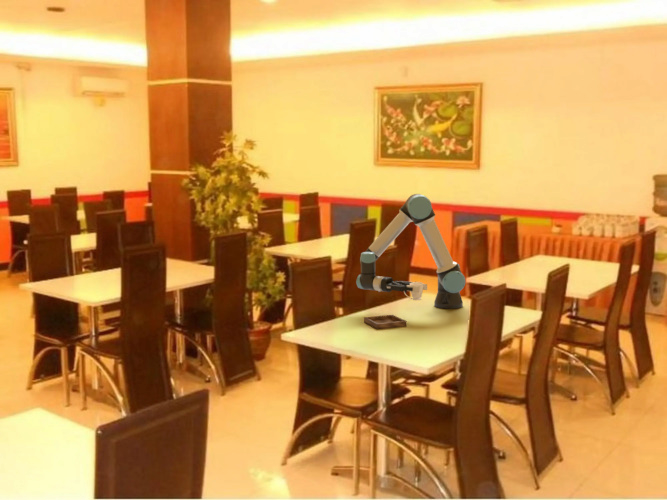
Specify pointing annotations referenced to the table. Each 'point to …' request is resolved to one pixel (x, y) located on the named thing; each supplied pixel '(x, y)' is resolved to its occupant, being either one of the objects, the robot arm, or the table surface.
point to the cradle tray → (385, 321)
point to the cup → (416, 294)
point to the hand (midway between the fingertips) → (422, 288)
